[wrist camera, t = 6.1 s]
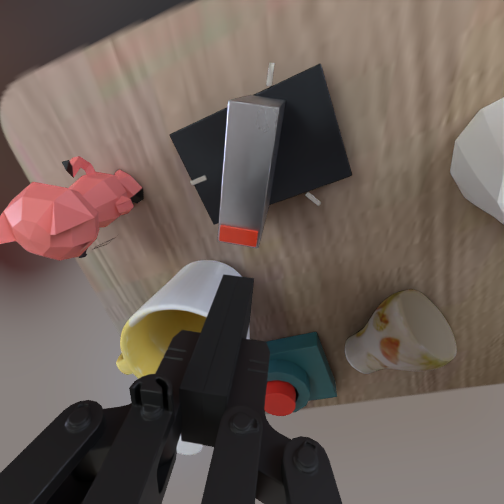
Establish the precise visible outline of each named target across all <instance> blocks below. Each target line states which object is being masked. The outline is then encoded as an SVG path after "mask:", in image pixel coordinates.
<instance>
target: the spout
mask: <svg viewBox="0 0 504 504" xmlns="http://www.w3.org/2000/svg"><path fill="white" fill-rule="evenodd" d="M285 102H286V101H285V100H281V99H274V98H267V97H260V96H253V95H248V96H244V97H240V98H235V99H231V100H229V101H228V111H227V124H226V137H225V150H224V163H223V175H222V188H221V201H220V214H219V227H218V241H219V242H224V243H230V244H236V245H242V246H248V247H253V248H259V244H260V240H261V236H262V232H263V228H264V224H265V220H266V216H267V212H268V209H269V203H270V197H271V191H272V184H273V178H274V172H275V165H276V159H277V153H278V146H279V140H280V134H281V127H282V121H283V115H284V108H285Z"/></svg>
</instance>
